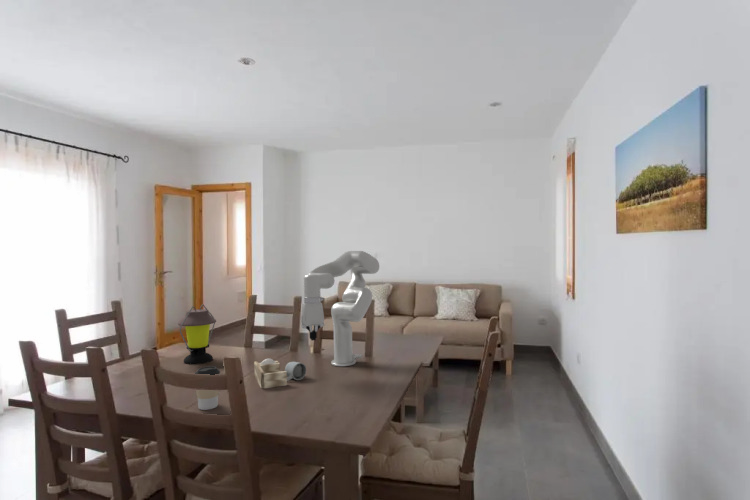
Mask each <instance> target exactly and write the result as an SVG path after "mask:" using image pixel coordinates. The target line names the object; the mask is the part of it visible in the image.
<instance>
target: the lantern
mask: <svg viewBox="0 0 750 500" xmlns="http://www.w3.org/2000/svg"><path fill="white" fill-rule="evenodd" d="M202 307H203V308H202ZM216 322H217V319H216V318H215V317H214V315H213V314H212V313H211V312H210V311H209V309H208V308H207V307H206V306H205V305H204V304H201V305H200V307H199V309H198V308H197V309H196V307H195V306H191V308H190V309H189V310H187V311H186V313H185V315H184V317H183V318H182V319H181V320H180V321H178V323H177V325H178V326H180V327H179V334H180V336H181V337H182V339H183V342H184V344H185V346H186V349H187V350H188V352H190V353H189V354H188V355H187V356H186V357H184V359H183V364H185V365H200V364H201V365H202V364H206V363H210V362H212V361H213V359H214V358H213V357H214V356H213V355H212V354H211V353H209V352H207V348H210V344H209V343H210V341H211V337H212V334H213V330H214V327H215V324H216ZM211 325H212V327H211ZM182 327H185V334H186V339H187V341H186V339H185V337H184V335H183V333H182ZM211 328H212V329H211ZM210 329H211V330H210Z"/></svg>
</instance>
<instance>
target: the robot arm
mask: <svg viewBox="0 0 750 500" xmlns="http://www.w3.org/2000/svg"><path fill="white" fill-rule="evenodd" d="M379 270H380V262H379V261H378V259H377V258H376V257H374V256H373V255H372V254H370V253H368V252H366V251H363V250H349V251H346V252H344V253H342V254H341V255H340V256H338V257H337V258H336V259H335V260H333V261H330V262H328V263H326V264H322V265H320V266H317V267H315V268H314V269H313V270H311V271H310V272H309V273H308V274H305V275H304V277H303V291H304V293H303V296H304V299H303V302H304V303H302V306H301V314H300V315H301V317H300V318H301V319H300V323H301V329H306V330H308V332H309V339H310V340H311V341H317V337H318V336H317V334H318V330H319V329H320V328H323V327H324V326H325V323H324V322H325V314H324V307H323V303H322V301H324V297H322V296H321V289H325V290H327V289H330V288H332V287H333V286H334V284H335V278H339V277H342V276H343V275H346V273H348V271H350V275H351V277H350V281H349V283H348V284H347V286H346V288H345V290H344V292H343V294H342V297H341V298H342V299H341V300H342V301H339V302H338V301H337V302H335V303H334V304H333V305H332V306H331V309H330V314H331V318H332V324H333V359H332V360H331V363H330V364H331V365H332V366H335V367H349V366H350V367H351V366H353V365H356V363H357V361H356V360H357V359H362V354H357V353H355V354H354V352H353V327H352V325H351V322H355V323H358V322H361V321H362V320H363V318H364V317H365V315H366V313H367V312H368V309H369V308H370V305H371V304H372V300H373V293H372V290H371V289H369V288H367V287H366V285H367V284H366V280H365V278H364V276H363V275H365V274H366V275H372V274H373V275H374V274H377V273H378V272H379Z"/></svg>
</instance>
